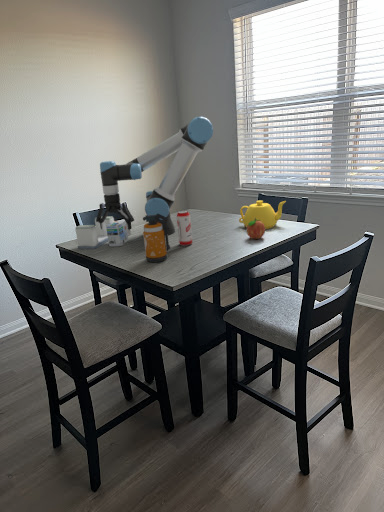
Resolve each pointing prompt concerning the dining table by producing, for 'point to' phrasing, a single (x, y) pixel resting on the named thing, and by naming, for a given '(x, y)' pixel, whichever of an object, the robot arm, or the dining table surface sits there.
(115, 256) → the dining table surface
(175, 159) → the robot arm
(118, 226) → the light bulb box
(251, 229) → the fruit
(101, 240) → the white u-shaped holder
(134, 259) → the dining table surface
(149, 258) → the canister
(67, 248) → the dining table surface
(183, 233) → the beer can
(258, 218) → the teapot
